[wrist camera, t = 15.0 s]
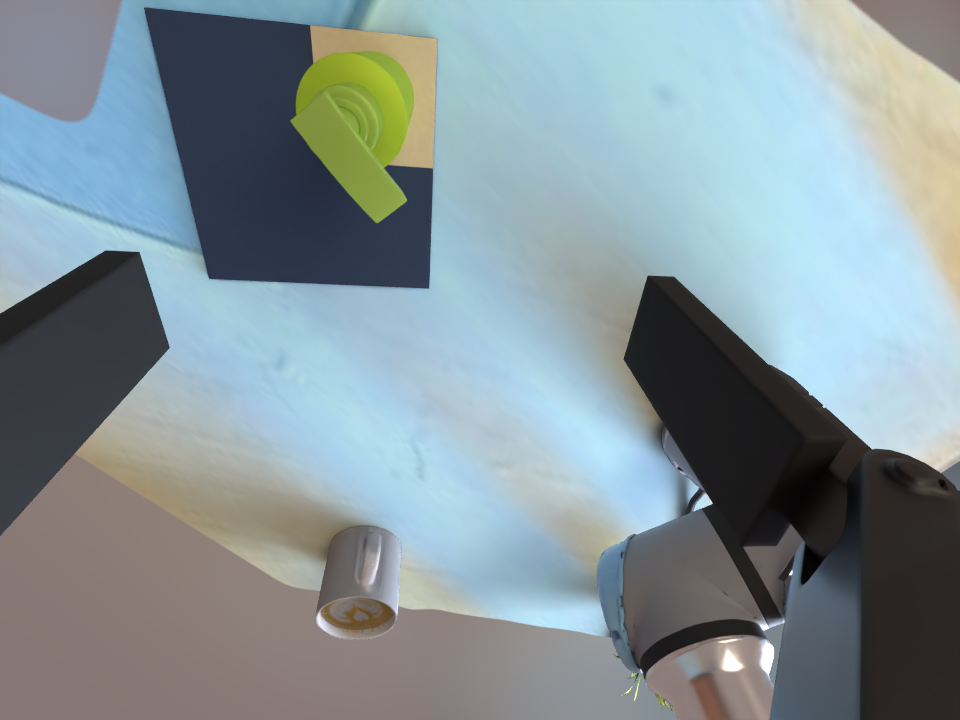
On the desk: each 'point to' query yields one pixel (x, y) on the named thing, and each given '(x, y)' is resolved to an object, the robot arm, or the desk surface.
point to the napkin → (288, 153)
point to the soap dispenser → (357, 123)
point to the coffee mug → (360, 584)
